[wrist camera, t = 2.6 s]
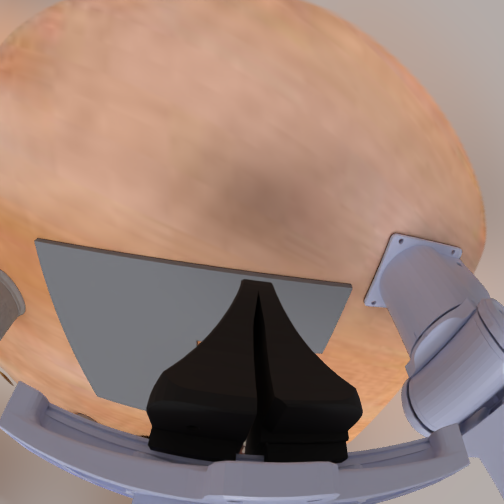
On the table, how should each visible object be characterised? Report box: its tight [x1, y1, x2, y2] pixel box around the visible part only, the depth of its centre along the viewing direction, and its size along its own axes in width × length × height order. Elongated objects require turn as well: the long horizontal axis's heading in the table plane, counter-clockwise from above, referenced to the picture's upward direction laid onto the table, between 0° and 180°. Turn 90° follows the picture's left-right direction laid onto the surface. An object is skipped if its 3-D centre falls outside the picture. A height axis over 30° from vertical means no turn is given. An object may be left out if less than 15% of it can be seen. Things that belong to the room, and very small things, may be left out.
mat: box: [34, 238, 352, 411], centre depth 32 cm, size 33×32×1 cm
